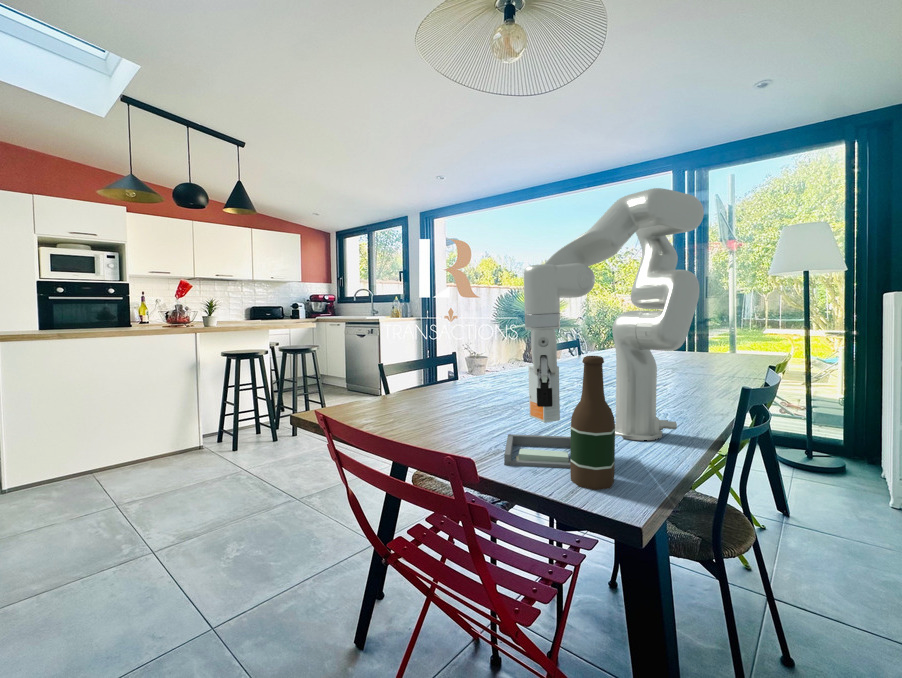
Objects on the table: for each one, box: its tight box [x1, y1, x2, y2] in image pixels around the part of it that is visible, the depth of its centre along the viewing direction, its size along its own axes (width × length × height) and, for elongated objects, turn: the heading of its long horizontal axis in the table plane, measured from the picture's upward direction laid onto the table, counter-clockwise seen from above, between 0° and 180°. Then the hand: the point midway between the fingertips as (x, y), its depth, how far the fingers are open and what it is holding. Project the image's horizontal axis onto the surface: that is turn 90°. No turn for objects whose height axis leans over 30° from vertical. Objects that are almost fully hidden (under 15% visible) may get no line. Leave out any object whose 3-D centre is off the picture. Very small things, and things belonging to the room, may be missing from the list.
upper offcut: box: [518, 448, 569, 463], centre depth 92 cm, size 10×4×2 cm, turn 77°
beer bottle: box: [570, 355, 616, 491], centre depth 80 cm, size 8×8×24 cm
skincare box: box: [527, 364, 561, 424], centre depth 96 cm, size 6×4×12 cm
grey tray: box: [503, 433, 571, 469], centre depth 95 cm, size 15×14×3 cm
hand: (544, 401), depth 97 cm, fingers closed on skincare box, 7 cm apart
